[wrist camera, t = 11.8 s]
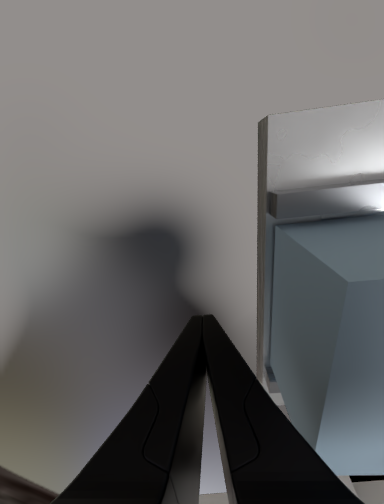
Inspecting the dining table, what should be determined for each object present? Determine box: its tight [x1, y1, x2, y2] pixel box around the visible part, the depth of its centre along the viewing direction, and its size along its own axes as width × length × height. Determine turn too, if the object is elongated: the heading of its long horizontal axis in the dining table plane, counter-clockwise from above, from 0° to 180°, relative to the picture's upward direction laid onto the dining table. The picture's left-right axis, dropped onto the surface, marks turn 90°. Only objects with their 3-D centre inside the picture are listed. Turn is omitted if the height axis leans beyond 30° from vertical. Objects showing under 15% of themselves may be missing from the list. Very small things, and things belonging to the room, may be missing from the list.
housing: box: [270, 215, 384, 476], centre depth 7 cm, size 7×4×5 cm, turn 6°
